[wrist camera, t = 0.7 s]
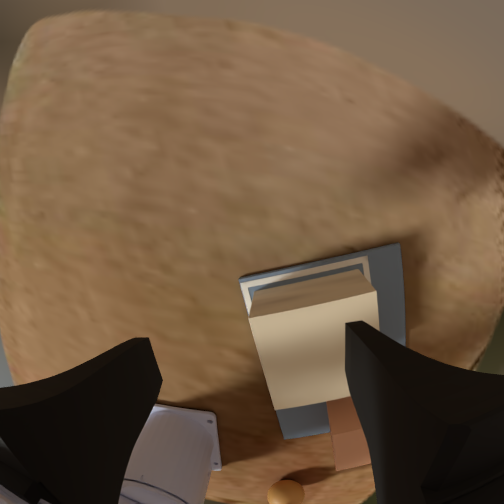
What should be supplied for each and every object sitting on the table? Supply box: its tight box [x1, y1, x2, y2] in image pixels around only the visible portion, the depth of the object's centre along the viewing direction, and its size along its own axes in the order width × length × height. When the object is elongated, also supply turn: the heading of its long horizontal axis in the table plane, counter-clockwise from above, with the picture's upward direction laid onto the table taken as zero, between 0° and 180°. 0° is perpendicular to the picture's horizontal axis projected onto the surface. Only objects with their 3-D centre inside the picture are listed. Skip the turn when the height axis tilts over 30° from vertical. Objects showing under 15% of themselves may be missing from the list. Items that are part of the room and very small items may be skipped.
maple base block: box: [248, 269, 380, 410], centre depth 18 cm, size 7×7×4 cm
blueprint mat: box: [239, 243, 406, 439], centre depth 21 cm, size 16×11×1 cm
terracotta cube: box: [326, 396, 371, 471], centre depth 19 cm, size 5×5×5 cm
